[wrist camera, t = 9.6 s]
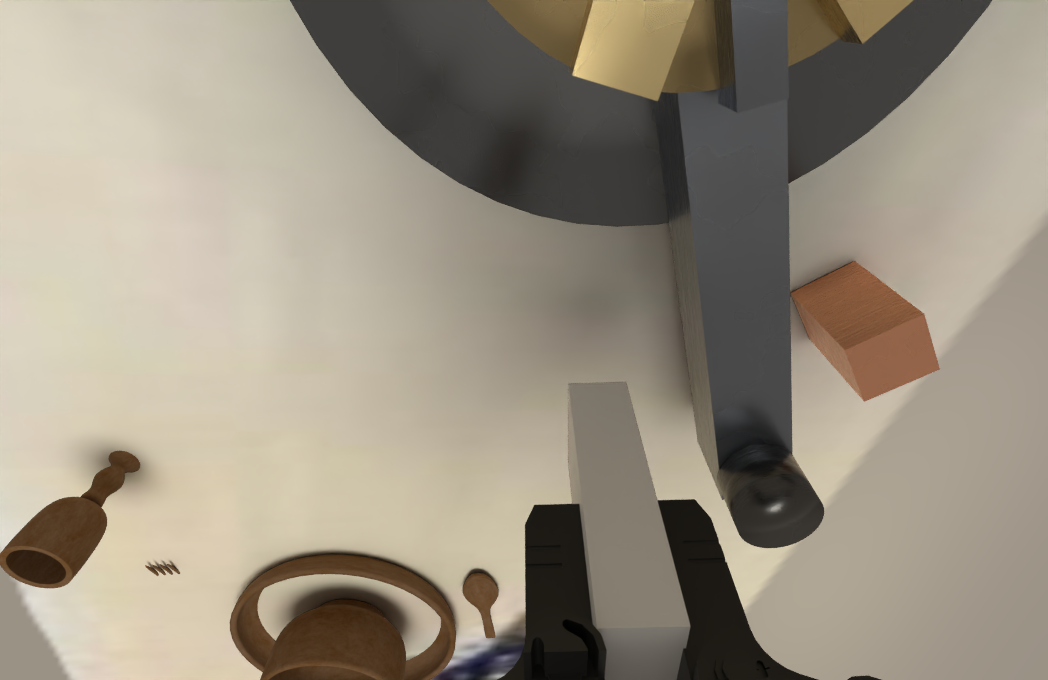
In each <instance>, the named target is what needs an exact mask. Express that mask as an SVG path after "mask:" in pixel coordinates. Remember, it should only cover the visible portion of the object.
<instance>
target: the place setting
mask: <svg viewBox="0 0 1048 680" xmlns="http://www.w3.org/2000/svg"><path fill="white" fill-rule="evenodd" d="M109 461H110V463H111V467H108V468H105V469H103V470H101V471H100V472H98V473H97V474H96V475H95V477H94V479H93V482H92V486H91V488H90V489H89V490H88V491H87V492H86V493H84V494H83V495H82V496H81V497H67V498H62V499H59V500H57V501H55V502H53V503H51V504H49V505H48V506H46V507H45V508H44V509H42V510H41V511H40V512H39V513H38V514H37V515H36V516H35V517H33V518H32V519H31V520H30V521H29V522H28V523H27V524H26V525H25V526H24V527H23V528H22V529H21V531H20V532H19V533H18V534H17V535H16V536H15V537H14V538H13V539H12V540H11V541H10V542H9V544H8V545H7V546H6V547H5V548H4V550H3V551H2V552H1V553H0V565H1V567H2V568H3V570H4V571H5V572H6V573H8V574H9V575H10V576H12V577H13V578H15V579H16V580H18V581H20V582H23V583H25V584H28V585H31V586H35V587H40V588H58V587H62V586H65V585H67V584H68V583H69V582H70V581H71V580H72V579H73V577H74V576H75V575H76V574H77V573H78V571H79V570H80V569H81V568H82V566H83V565H84V564H85V562H86V561H87V560H88V558H89V557H90V555H91V554H92V553H93V551H94V550H95V548H96V547H97V545H98V544H99V542H100V540H101V539H102V537H103V535H104V533H105V530H106V526H107V517H106V514H105V512H104V510H103V509H102V508H101V507H102V506H103V504H104V502H105V500H106V498H107V497H108V496H109V495H110V494H112V493H114V492H116V491H117V490H118V489H120V488H121V486H122V485H123V483H124V479H125V473H127V472H135V471H137V470H138V469H139V468H140V462H139V460H138V459H137V458H136V457H135V456H134V455H132V454H130V453H128V452H125V451H115V452H112V453H111V454H110V455H109ZM167 565H168V566H169V567H170V568H171V569H172V570H174V571H175V572H176V573H178V574H180V572H179V571H178V569H176V568H175V567H173V566H171V565H169V564H167ZM145 566H146V565H145ZM160 566H161V567H162V568H163V569H164V570H166V571H167V572H168V573H170V574H171V575H173V573H172V571H171V570H170V569H168V568H167V567H165V566H163V565H161V564H160ZM153 567H154V568H155V569H157V570H158V571H159V572H161V573H162V574H163V575H166V574H165V572H164V571H163V570H162V569H160V568H159V567H157V566H155V565H153ZM146 568H148V569H149V570H150V571H151V572H153V573H154V574H156V575H157V576H159V574H158V572H157V571H156V570H154V569H152V568H151V567H149V566H146ZM314 574H342V575H352V576H360V577H365V578H370V579H374V580H378V581H382V582H385V583H388V584H391V585H394V586H396V587H399V588H401V589H404V590H405V591H407V592H409V593H411V594H413V595H415V596H417V597H418V598H420V599H421V600H423V601H424V602H426V603H427V604H428V605H429V606H430V607H431V608H433V609H434V610H435V611H436V613H437V614H438V615H439V616H440V617H441V628H440V632H439V635H438V636H437V638H436V640H435V641H434V642H433V644H432V645H431V646H430V647H429V648H428V649H427V650H425V651H424V652H422V653H421V654H419V655H418V656H416V657H414V658H412V659H410V660H407V661H406V651H405V646H404V642H403V640H402V638H401V636H400V634H399V632H398V631H397V629H396V628H395V627H394V626H393V625H392V624H391V623H390V622H389V621H388V620H386V619H385V618H384V616H383V614H382V613H381V612H380V611H379V610H378V609H376V608H375V607H373V606H371V605H369V604H367V603H364V602H361V601H356V600H346V599H344V600H334V601H330V602H327V603H325V604H323V605H321V606H320V607H319V608H315V609H312V610H310V611H307V612H305V613H303V614H301V615H299V616H298V617H296V618H295V619H293V620H292V621H291V622H290V623H289V624H288V625H287V626H286V627H285V628H284V629H283V630H282V632H281V633H280V635H279V636H278V638H277V640H276V641H275V640H274V639H273V638H272V637H271V636H270V635H269V634H268V633H267V632H266V630H265V629H264V627H263V626H262V624H261V622H260V619H259V616H258V611H257V604H258V599H259V596H260V594H261V592H262V590H263V589H264V588H265V587H267V586H269V585H272V584H274V583H276V582H279V581H283V580H286V579H289V578H294V577H299V576H306V575H314ZM463 594H464V597H465V598H466V599H467V600H468V601H469V602H470V603H471V604H472V605H474V606H475V607H476V608H478V610H479V611H480V613H481V616H482V620H483V625H484V630H485V636H486V638H495V631H494V628H493V624H492V620H491V616H490V608H491V606H492V605H493V604H494V602H495V601H496V599H497V597H498V588H497V586H496V584H495V583H494V581H493V580H492V579H491V578H490V577H489V576H487V575H486V574H483V573H474V574H471V575H470V576H469V577H468V578H467V579H466V581H465V583H464V586H463ZM230 632H231V635H232V639H233V641H234V643H235V645H236V647H237V648H238V650H239V651H240V652H241V654H242V655H243V656H244V657H245V658H246V659H247V660H248V661H249V662H250V663H251V664H252V665H254V666H255V667H256V668H257V669H259V670H260V671H262V672H263V674H262V676H261V679H260V680H430V679H432V678H434V677H435V676H436V675H438V674H439V673H440V672H441V671H442V670H443V669H444V668H445V667H446V666H447V665H448V663H449V661H450V660H451V658H452V656H453V653H454V650H455V641H456V630H455V623H454V619H453V616H452V613H451V611H450V608H449V607H448V605H447V603H446V602H445V600H444V599H443V598H442V596H441V595H440V594H439V593H438V592H437V591H436V590H435V589H434V588H433V587H432V586H431V585H430V584H429V583H428V582H426V581H425V580H423V579H422V578H420V577H419V576H417V575H416V574H414V573H412V572H410V571H408V570H406V569H404V568H401V567H399V566H397V565H394V564H391V563H388V562H385V561H382V560H378V559H373V558H369V557H363V556H356V555H342V554H328V555H316V556H309V557H304V558H299V559H295V560H292V561H289V562H286V563H283V564H281V565H279V566H276V567H274V568H272V569H270V570H269V571H267V572H265V573H264V574H262V575H261V576H259V577H258V578H257V579H256V580H255V581H253V582H252V583H251V584H250V585H249V586H248V587H247V588H246V590H245V591H244V592H243V594H242V595H241V596H240V598H239V599H238V601H237V603H236V605H235V608H234V610H233V612H232V614H231V619H230Z"/></svg>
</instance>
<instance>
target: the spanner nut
mask: <svg viewBox="0 0 1048 680" xmlns="http://www.w3.org/2000/svg"><path fill="white" fill-rule="evenodd" d="M487 1H488V2H489V3H490V4H491V5H492V6H493V7H494V8H495V9H496V10H497V11H498V12H499V13H500V14H501V15H502V16H503V17H504V18H505V19H506V20H507V21H508V22H509V23H510V24H511V25H512V26H513V27H514V28H515V29H516V30H517V31H518V32H519V33H520V34H522V35H523V36H524V37H526V38H527V39H528V40H529V41H531V42H532V43H533V44H535V45H536V46H537V47H539V48H540V49H541V50H543V51H544V52H545V53H546V54H548V55H550V56H552V57H553V58H555V59H557V60H559V61H561V62H562V63H564V64H566V65H568V66H569V72H570V74H571V75H572V76H576V77H579V78H582V79H586V80H589V81H592V82H596V83H599V84H602V85H606V86H609V87H612V88H616V89H619V90H622V91H626V92H629V93H632V94H635V95H639V96H642V97H645V98H649V99H652V100H653V107H654V115H655V122H656V130H657V138H658V145H659V153H660V160H661V168H662V175H663V183H664V190H665V198H666V205H667V213H668V221H669V228H670V236H671V243H672V251H673V258H674V266H675V273H676V281H677V288H678V296H679V304H680V311H681V319H682V326H683V334H684V341H685V349H686V356H687V364H688V371H689V379H690V387H691V394H692V402H693V409H694V417H695V424H696V432H697V439H698V443H699V446H700V448H701V450H702V453H703V455H704V457H705V460H706V462H707V465H708V467H709V469H710V472H711V474H712V477H713V479H714V481H715V484H716V486H717V488H718V491H719V493H720V496H721V498H722V500H723V499H724V500H725V502H726V504H727V507H728V509H729V511H730V514H731V516H732V518H733V521H734V523H735V525H736V528H737V530H738V532H739V535H740V536H741V538H742V539H743V540H744V541H746V542H747V543H749V544H751V545H754V546H757V547H762V548H778V547H784V546H788V545H791V544H794V543H796V542H799V541H801V540H803V539H804V538H806V537H807V536H809V535H810V534H812V533H813V532H814V531H815V530H816V529H817V528H818V526H819V525H820V523H821V521H822V519H823V516H824V507H823V504H822V502H821V501H820V499H819V497H818V496H817V494H816V493H815V491H814V489H813V488H812V486H811V484H810V483H809V481H808V480H807V478H806V476H805V475H804V473H803V471H802V470H801V468H800V467H799V465H798V463H797V462H796V460H795V458H794V457H793V455H792V400H791V332H790V264H789V196H788V128H787V99H789V72H788V67H789V66H791V65H793V64H795V63H797V62H799V61H801V60H803V59H805V58H808V57H810V56H812V55H814V54H815V53H817V52H818V51H820V50H822V49H823V48H825V47H826V46H828V45H829V44H831V43H833V42H834V41H836V40H837V39H839V38H840V40H841V41H843V42H851V43H859V44H863V43H864V42H866V41H867V40H868V39H869V38H870V37H871V36H872V35H874V34H875V33H876V32H877V31H878V30H879V29H881V28H882V27H883V26H884V25H885V24H886V23H888V22H889V21H890V20H891V19H892V18H893V17H895V16H896V15H897V14H898V13H899V12H900V11H902V10H903V9H904V8H905V7H906V6H907V5H909V4H910V3H911V2H912V1H913V0H487Z"/></svg>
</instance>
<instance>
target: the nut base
mask: <svg viewBox="0 0 1048 680" xmlns="http://www.w3.org/2000/svg"><path fill="white" fill-rule="evenodd" d="M290 1H291V3H292V5H293V6H294V8H295V10H296V11H297V13H298V15H299V16H300V18H301V20H302V21H303V23H304V25H305V26H306V28H307V30H308V31H309V33H310V35H311V37H312V38H313V40H314V42H315V43H316V45H317V46H318V48H319V49H320V50H321V52H322V53H323V54H324V56H325V57H326V58H327V60H328V61H329V62H330V64H331V65H332V66H333V68H334V69H335V71H336V72H337V73H338V75H339V76H340V77H341V79H342V80H343V81H344V83H345V84H346V85H347V87H348V88H349V89H350V90H351V92H352V93H353V94H354V95H355V96H356V97H357V98H358V99H359V100H360V101H361V102H362V103H363V104H364V105H365V106H366V108H367V109H368V110H369V111H370V112H371V113H372V114H373V115H374V116H375V117H376V118H377V119H378V120H379V121H380V122H381V124H382V125H383V126H384V127H385V128H386V129H388V130H389V131H390V132H391V133H392V134H394V135H395V136H396V137H397V138H398V139H399V140H401V141H402V142H403V143H404V144H405V145H407V146H408V147H409V148H410V149H411V150H412V151H414V152H415V153H416V154H417V155H418V156H420V157H421V158H422V159H424V160H425V161H427V162H428V163H430V164H431V165H433V166H434V167H436V168H437V169H439V170H440V171H442V172H443V173H445V174H446V175H448V176H449V177H451V178H452V179H454V180H455V181H457V182H458V183H460V184H462V185H464V186H466V187H468V188H470V189H472V190H475V191H477V192H479V193H481V194H483V195H485V196H487V197H489V198H491V199H493V200H495V201H497V202H499V203H502V204H505V205H508V206H511V207H514V208H517V209H520V210H523V211H526V212H529V213H532V214H534V215H538V216H542V217H547V218H552V219H557V220H562V221H567V222H572V223H577V224H590V225H604V226H617V227H618V226H637V225H655V224H663V223H669V221H668V213H667V205H666V198H665V190H664V183H663V175H662V168H661V160H660V153H659V145H658V138H657V130H656V122H655V115H654V107H653V100H652V99H649V98H645V97H642V96H639V95H635V94H632V93H629V92H626V91H622V90H619V89H616V88H612V87H609V86H606V85H602V84H599V83H596V82H592V81H589V80H586V79H582V78H579V77H576V76H572V75H571V74H570V72H569V66H568V65H566V64H564V63H562V62H561V61H559V60H557V59H555V58H553V57H552V56H550V55H548V54H546V53H545V52H544V51H543V50H541V49H540V48H539V47H537V46H536V45H535V44H533V43H532V42H531V41H529V40H528V39H527V38H526V37H524V36H523V35H522V34H520V33H519V32H518V31H517V30H516V29H515V28H514V27H513V26H512V25H511V24H510V23H509V22H508V21H507V20H506V19H505V18H504V17H503V16H502V15H501V14H500V13H499V12H498V11H497V10H496V9H495V8H494V7H493V6H492V5H491V4H490V3H489V2H488V1H487V0H290ZM991 1H992V0H913V1H912V2H911V3H910V4H909V5H907V6H906V7H905V8H904V9H903V10H902V11H900V12H899V13H898V14H897V15H896V16H895V17H893V18H892V19H891V20H890V21H889V22H888V23H886V24H885V25H884V26H883V27H882V28H881V29H879V30H878V31H877V32H876V33H875V34H874V35H872V36H871V37H870V38H869V39H868V40H867V41H866V42H864V43H863V44H859V43H851V42H843V41H841V40H840V38H839V39H837V40H836V41H834V42H833V43H831V44H829V45H828V46H826V47H825V48H823V49H822V50H820V51H818V52H817V53H815V54H814V55H812V56H810V57H808V58H805V59H803V60H801V61H799V62H797V63H795V64H793V65H791V66H789V67H788V72H789V99H787V128H788V183H790V182H792V181H794V180H795V179H797V178H799V177H801V176H802V175H804V174H806V173H808V172H810V171H811V170H813V169H815V168H817V167H818V166H820V165H822V164H824V163H825V162H827V161H828V160H830V159H831V158H832V157H834V156H835V155H837V154H838V153H840V152H841V151H842V150H844V149H845V148H847V147H848V146H849V145H851V144H852V143H854V142H855V141H856V140H858V139H859V138H861V137H862V136H864V135H865V134H866V133H868V132H869V131H870V130H871V129H872V128H873V127H875V126H876V125H877V124H878V123H879V122H880V121H881V120H883V119H884V118H885V117H886V116H887V115H888V114H890V113H891V112H892V111H893V110H894V109H895V108H897V107H898V106H899V105H900V104H901V103H902V102H903V101H905V100H906V99H907V98H908V97H909V96H910V95H911V94H912V93H913V92H914V91H915V90H916V89H917V88H918V87H919V86H920V85H921V84H922V82H923V81H924V80H925V79H926V78H927V77H928V76H929V75H930V74H931V73H932V72H933V71H934V70H935V69H936V68H937V67H938V66H939V65H940V64H941V63H942V62H943V61H944V60H945V59H946V58H947V57H948V55H949V54H950V53H951V52H952V50H953V49H954V48H955V47H956V46H957V44H958V43H959V42H960V41H961V39H962V38H963V37H964V36H965V34H966V33H967V32H968V31H969V29H970V28H971V27H972V26H973V24H974V23H975V22H976V21H977V20H978V18H979V17H980V16H981V15H982V13H983V12H984V11H985V10H986V8H987V7H988V6H989V4H990V3H991ZM790 294H791V296H792V298H793V301H794V303H795V305H796V308H797V310H798V313H799V315H800V317H801V320H802V322H803V325H804V327H805V329H806V332H807V334H808V337H809V339H810V340H811V341H812V342H813V344H814V345H815V346H816V347H817V348H818V349H819V350H820V352H821V353H822V354H823V355H824V356H825V357H826V358H827V360H828V361H829V362H830V363H831V364H832V365H833V366H834V368H835V369H836V370H837V371H838V372H839V373H840V374H841V375H842V377H843V378H844V379H845V380H846V381H847V382H848V383H849V385H850V386H851V387H852V388H853V389H854V390H855V391H856V393H857V394H858V395H859V396H860V397H861V398H862V399H863V401H867V400H869V399H871V398H874V397H876V396H878V395H881V394H883V393H885V392H888V391H890V390H892V389H895V388H897V387H899V386H902V385H904V384H906V383H909V382H911V381H913V380H916V379H918V378H920V377H923V376H925V375H927V374H930V373H932V372H934V371H937V370H939V365H938V361H937V358H936V354H935V351H934V347H933V344H932V340H931V337H930V333H929V329H928V326H927V322H926V319H925V315H924V313H922V312H921V311H920V310H918V309H917V308H916V307H914V306H913V305H912V304H910V303H909V302H908V301H906V300H905V299H904V298H903V297H901V296H900V295H899V294H897V293H896V292H895V291H893V290H892V289H891V288H889V287H888V286H887V285H885V284H884V283H883V282H882V281H880V280H879V279H878V278H876V277H875V276H874V275H872V274H871V273H870V272H868V271H867V270H866V269H864V268H863V267H862V266H861V265H859V264H858V263H857V262H855V261H854V262H852V263H850V264H848V265H846V266H844V267H842V268H840V269H837V270H835V271H833V272H831V273H829V274H827V275H825V276H823V277H821V278H819V279H817V280H815V281H813V282H811V283H809V284H807V285H805V286H803V287H801V288H799V289H797V290H795V291H793V292H791V293H790Z"/></svg>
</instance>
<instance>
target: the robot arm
mask: <svg viewBox="0 0 1048 680" xmlns="http://www.w3.org/2000/svg"><path fill="white" fill-rule="evenodd" d="M568 466H569V476H570V487H571V497H572V504H554V505H534V507H533V509H532V511H531V513H530V515H529V517H528V520H527V522H526V524H525V567H526V569H525V582H526V637H525V645H524V649H523V651H522V654H521V657H520V658H519V660H518V661H517V663H516V664H515V666H514V667H513V668H512V669H511V670H510V671H509V672H508V673H507V674H506V675H505V676H503V677H501V678H499V679H498V680H817V679H814V678H811V677H808V676H804V675H801V674H799V673H796V672H794V671H791V670H789V669H787V668H785V667H784V666H782V665H780V664H779V663H777V662H776V661H774V660H773V659H772V658H771V657H770V656H769V655H768V654H767V653H766V652H765V651H764V650H763V649H762V648H761V646H760V645H759V644H758V643H757V641H756V640H755V638H754V636H753V634H752V631H751V630H750V627H749V624H748V621H747V618H746V616H745V613H744V610H743V607H742V604H741V602H740V599H739V596H738V593H737V590H736V587H735V585H734V582H733V579H732V576H731V573H730V571H729V568H728V565H727V562H725V557H724V554H723V551H722V548H721V545H720V544H719V540H718V537H717V534H716V531H715V528H714V526H713V523H712V520H711V518H710V517H709V515H708V514H707V513H706V512H705V511H704V510H703V509H702V507H701V506H700V505H699V504H698V503H697V502H696V500H695V499H692V500H657V497H656V493H655V490H654V486H653V482H652V478H651V474H650V471H649V467H648V463H647V459H646V455H645V452H644V448H643V444H642V440H641V436H640V433H639V429H638V425H637V421H636V417H635V414H634V410H633V406H632V402H631V398H630V395H629V391H628V387H627V383H626V382H604V383H571V384H569V385H568ZM848 680H881V679H877V678H874V677H871V676H855V677H851V678H849V679H848Z"/></svg>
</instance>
